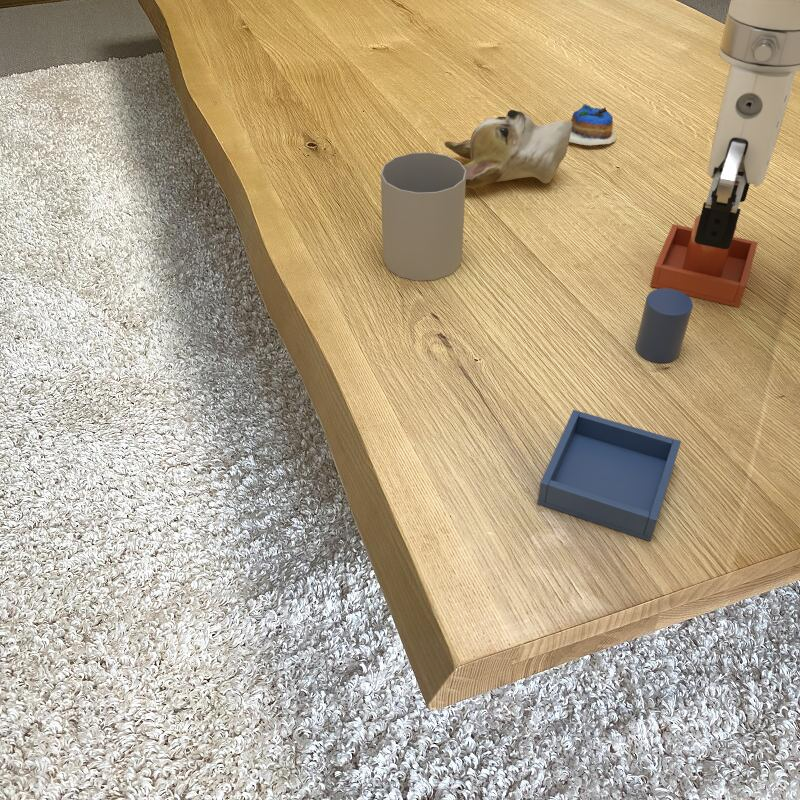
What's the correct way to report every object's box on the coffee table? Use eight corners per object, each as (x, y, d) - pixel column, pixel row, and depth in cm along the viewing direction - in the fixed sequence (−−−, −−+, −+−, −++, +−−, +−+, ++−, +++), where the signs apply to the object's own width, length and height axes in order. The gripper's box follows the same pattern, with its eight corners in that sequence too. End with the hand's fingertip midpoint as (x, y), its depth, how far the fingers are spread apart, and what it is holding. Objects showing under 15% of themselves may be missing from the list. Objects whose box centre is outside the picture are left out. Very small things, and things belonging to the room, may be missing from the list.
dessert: (632, 135, 108) (615, 103, 104) (596, 173, 109) (577, 143, 104) (594, 116, 114) (576, 85, 109) (559, 152, 114) (540, 123, 110)
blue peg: (683, 342, 78) (697, 294, 75) (674, 368, 76) (688, 319, 72) (640, 331, 80) (652, 283, 76) (630, 356, 77) (641, 308, 73)
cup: (370, 270, 87) (367, 183, 81) (400, 231, 93) (399, 146, 86) (446, 287, 85) (449, 199, 78) (472, 246, 91) (477, 160, 84)
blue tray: (674, 462, 67) (681, 440, 66) (650, 541, 61) (656, 520, 60) (569, 430, 70) (573, 409, 68) (536, 504, 64) (540, 482, 62)
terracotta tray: (751, 262, 88) (758, 241, 86) (738, 307, 82) (745, 286, 80) (667, 243, 91) (672, 223, 89) (649, 286, 85) (654, 266, 83)
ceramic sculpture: (578, 128, 91) (441, 134, 93) (573, 199, 97) (444, 204, 98) (569, 89, 99) (442, 95, 100) (564, 157, 105) (445, 162, 106)
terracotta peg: (725, 264, 87) (739, 218, 83) (718, 285, 84) (733, 237, 80) (686, 255, 88) (698, 209, 84) (678, 275, 85) (690, 228, 82)
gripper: (807, 82, 63) (747, 274, 74) (825, 14, 75) (771, 189, 86) (705, 68, 65) (662, 256, 77) (738, 4, 77) (697, 175, 89)
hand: (720, 220), depth 81 cm, fingers open, 9 cm apart
